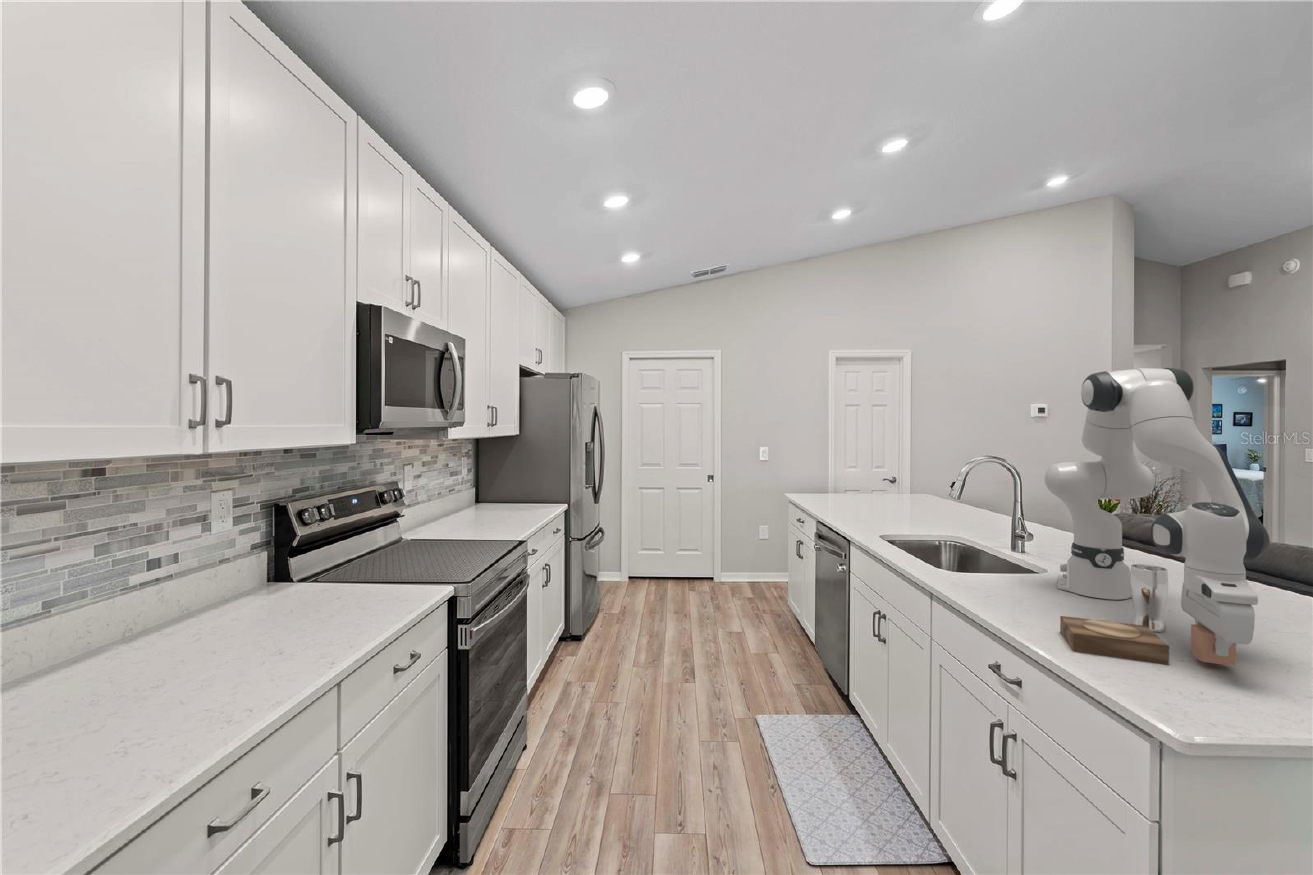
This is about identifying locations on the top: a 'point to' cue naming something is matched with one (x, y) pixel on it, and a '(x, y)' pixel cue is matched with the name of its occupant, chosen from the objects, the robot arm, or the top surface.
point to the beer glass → (1149, 595)
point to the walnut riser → (1114, 639)
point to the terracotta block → (1209, 647)
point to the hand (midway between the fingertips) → (1212, 648)
